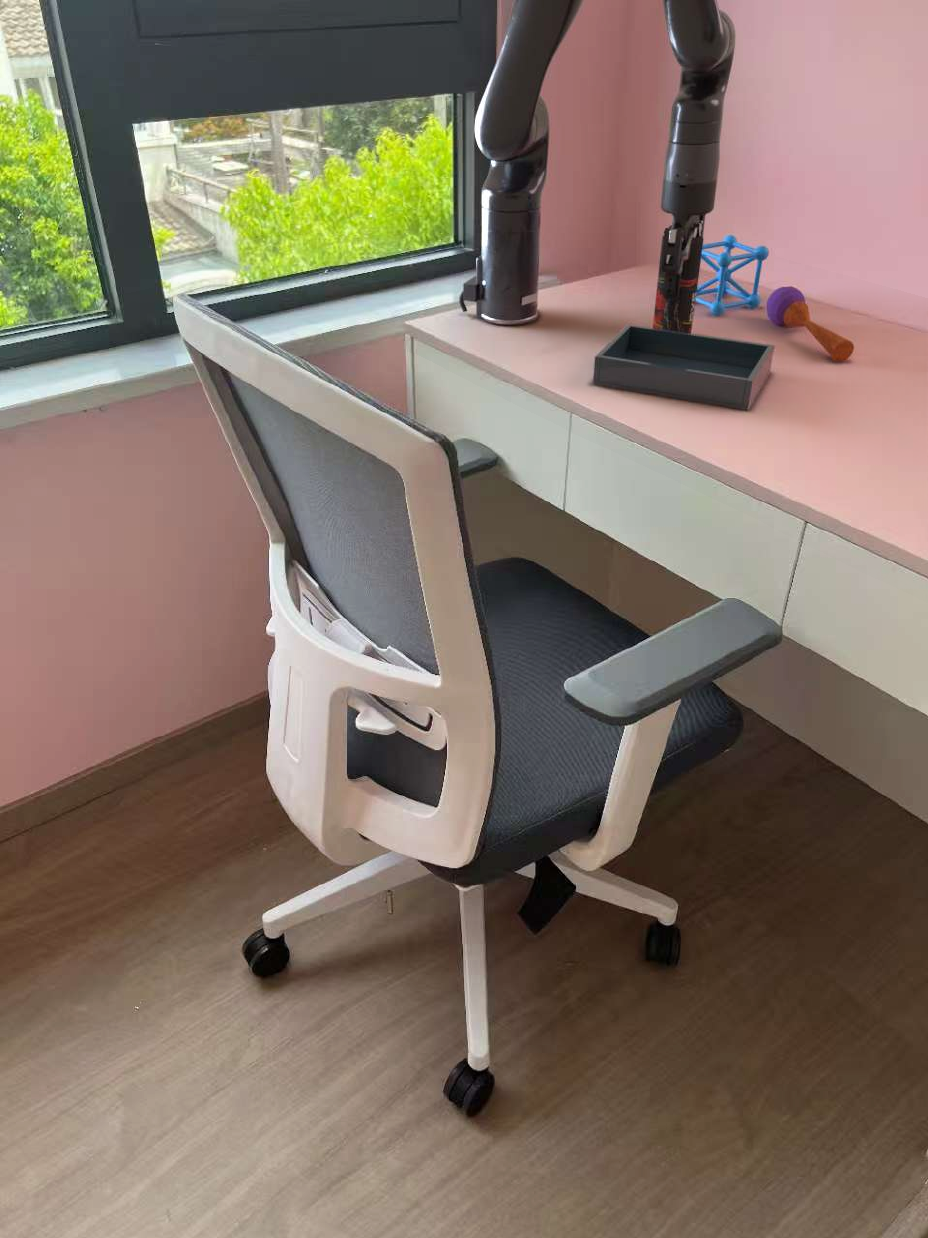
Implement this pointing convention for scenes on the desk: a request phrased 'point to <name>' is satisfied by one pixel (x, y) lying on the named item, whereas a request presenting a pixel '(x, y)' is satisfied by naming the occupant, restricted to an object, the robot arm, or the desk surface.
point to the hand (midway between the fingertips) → (678, 290)
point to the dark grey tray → (684, 366)
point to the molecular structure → (725, 274)
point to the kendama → (805, 321)
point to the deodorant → (682, 309)
